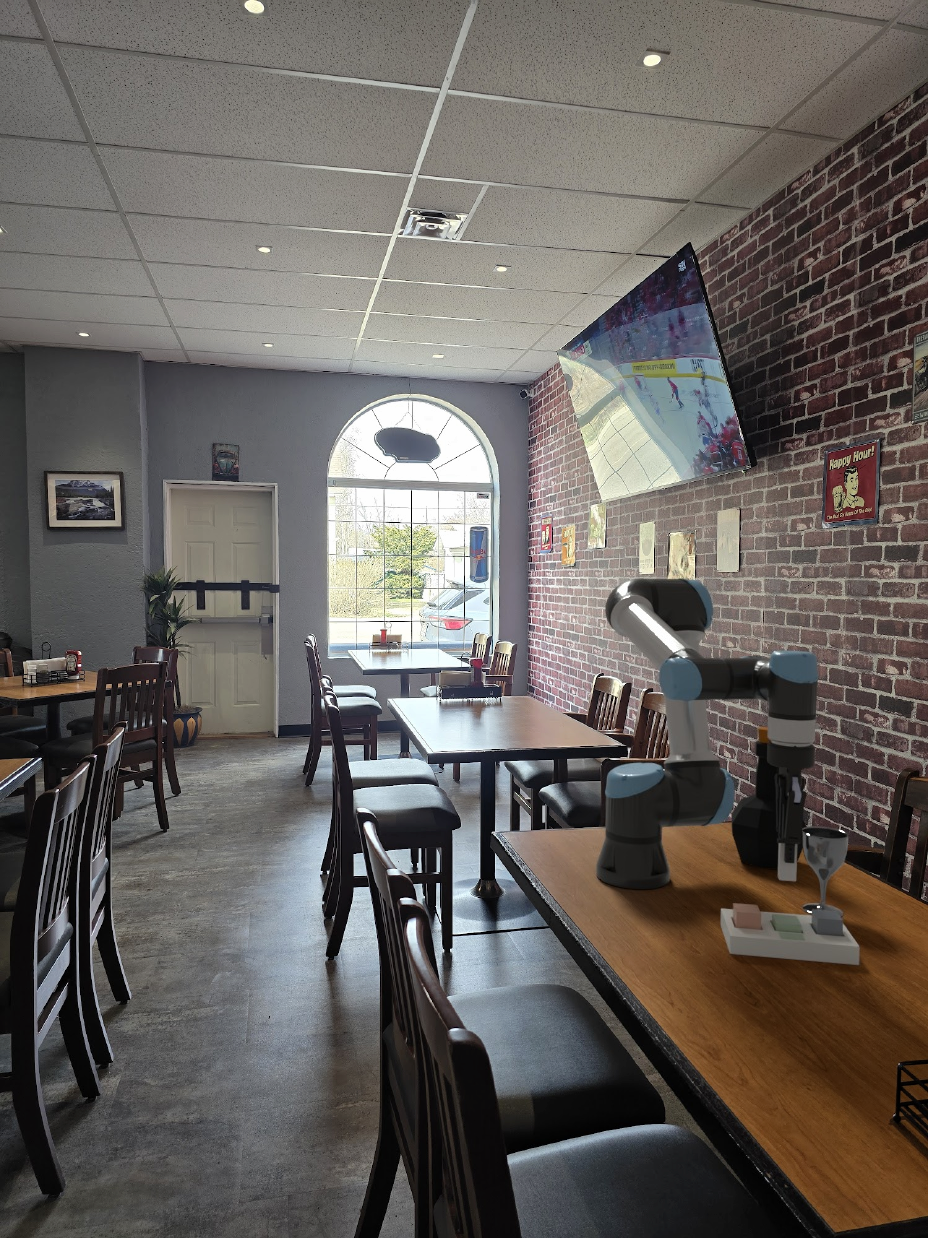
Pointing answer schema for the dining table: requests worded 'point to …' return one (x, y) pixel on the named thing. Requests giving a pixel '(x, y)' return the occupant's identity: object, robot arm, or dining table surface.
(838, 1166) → the dining table surface
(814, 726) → the robot arm
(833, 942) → the button board
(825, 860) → the silver goblet
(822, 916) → the slate grey button
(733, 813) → the bottle
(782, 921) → the sage button
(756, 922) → the salmon pink button
